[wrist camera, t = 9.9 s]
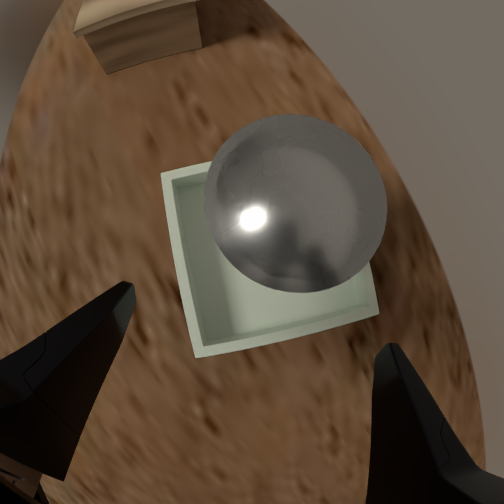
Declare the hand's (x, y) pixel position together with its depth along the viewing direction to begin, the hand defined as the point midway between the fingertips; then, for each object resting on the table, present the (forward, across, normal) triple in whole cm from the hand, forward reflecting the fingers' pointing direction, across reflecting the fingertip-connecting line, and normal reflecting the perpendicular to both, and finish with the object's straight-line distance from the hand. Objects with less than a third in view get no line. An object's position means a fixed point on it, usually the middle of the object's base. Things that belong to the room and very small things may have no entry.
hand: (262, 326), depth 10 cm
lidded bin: (+22, +15, -9) cm, 28 cm away
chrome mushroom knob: (+9, 0, +3) cm, 10 cm away
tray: (+10, 0, +4) cm, 10 cm away
